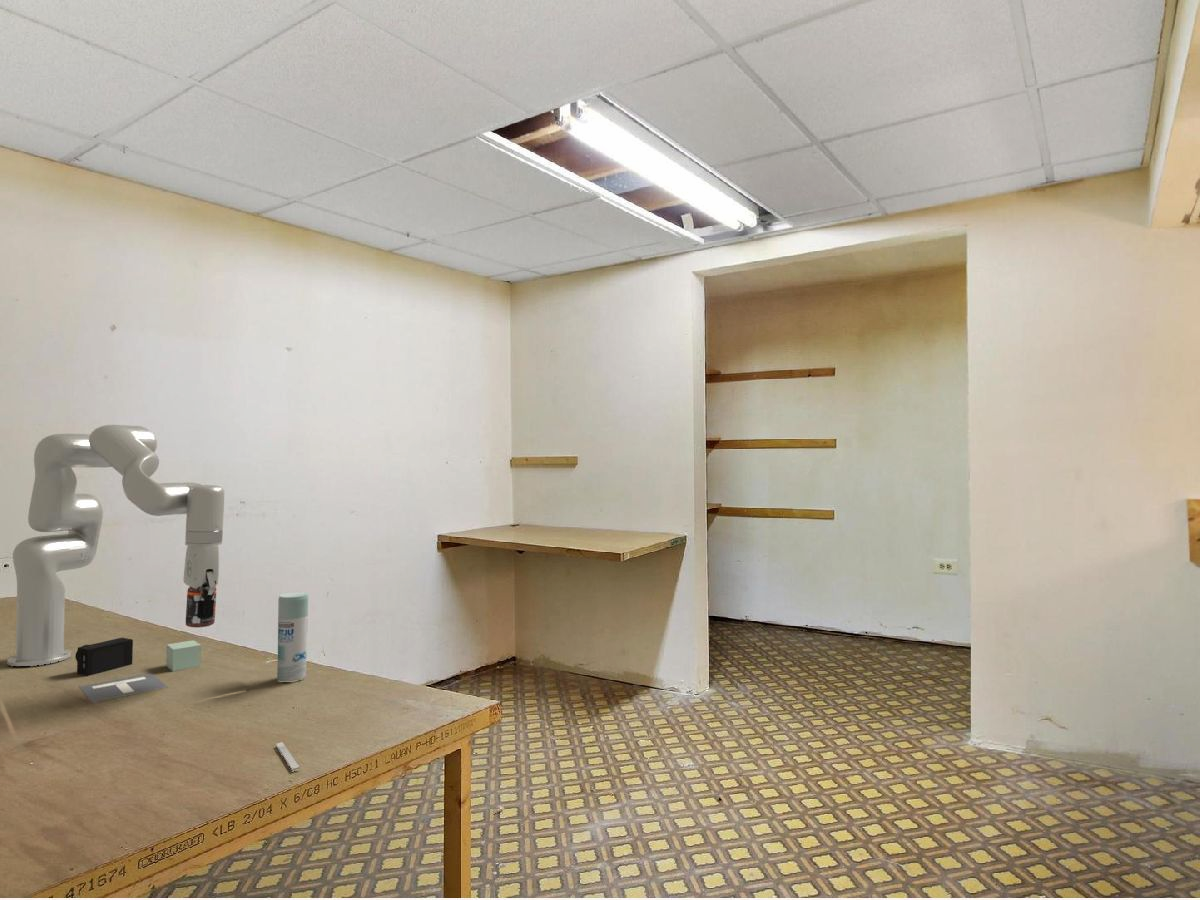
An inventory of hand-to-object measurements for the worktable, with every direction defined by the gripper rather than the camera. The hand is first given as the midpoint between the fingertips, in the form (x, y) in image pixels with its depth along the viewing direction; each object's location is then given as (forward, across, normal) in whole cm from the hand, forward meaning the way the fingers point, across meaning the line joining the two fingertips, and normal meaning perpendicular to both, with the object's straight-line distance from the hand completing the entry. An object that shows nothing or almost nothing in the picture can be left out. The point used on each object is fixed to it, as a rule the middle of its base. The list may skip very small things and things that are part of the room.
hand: (200, 613), depth 160 cm
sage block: (+16, -13, 0) cm, 21 cm away
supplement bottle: (+3, 0, 0) cm, 3 cm away
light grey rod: (+15, +56, -1) cm, 58 cm away
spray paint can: (+16, +13, +16) cm, 26 cm away
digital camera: (+17, -24, -14) cm, 32 cm away
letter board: (+16, -5, -14) cm, 22 cm away
